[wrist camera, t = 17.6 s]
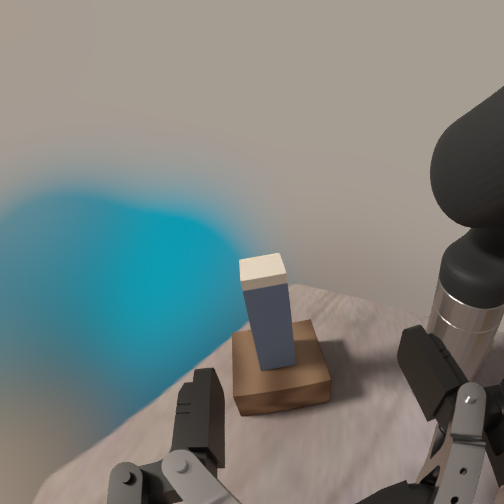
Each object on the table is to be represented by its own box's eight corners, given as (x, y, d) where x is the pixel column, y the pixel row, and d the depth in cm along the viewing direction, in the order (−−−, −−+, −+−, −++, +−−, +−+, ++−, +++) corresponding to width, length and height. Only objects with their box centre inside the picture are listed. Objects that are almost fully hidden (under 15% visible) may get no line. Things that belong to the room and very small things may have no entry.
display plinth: (311, 342, 44) (310, 319, 42) (329, 400, 34) (331, 379, 31) (238, 354, 45) (232, 332, 42) (240, 416, 34) (233, 396, 32)
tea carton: (290, 340, 39) (279, 252, 33) (296, 364, 35) (286, 273, 29) (257, 346, 39) (239, 259, 33) (260, 370, 35) (240, 281, 29)
